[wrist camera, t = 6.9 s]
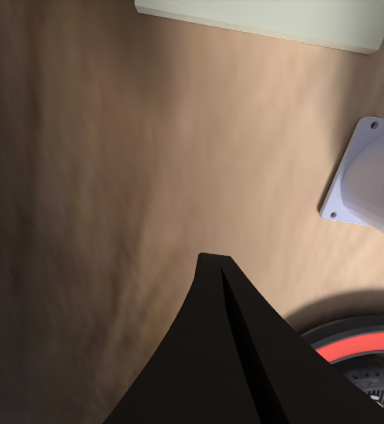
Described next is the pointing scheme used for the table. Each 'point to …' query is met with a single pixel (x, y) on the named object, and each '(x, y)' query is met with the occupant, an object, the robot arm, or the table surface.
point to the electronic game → (353, 350)
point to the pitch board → (285, 19)
